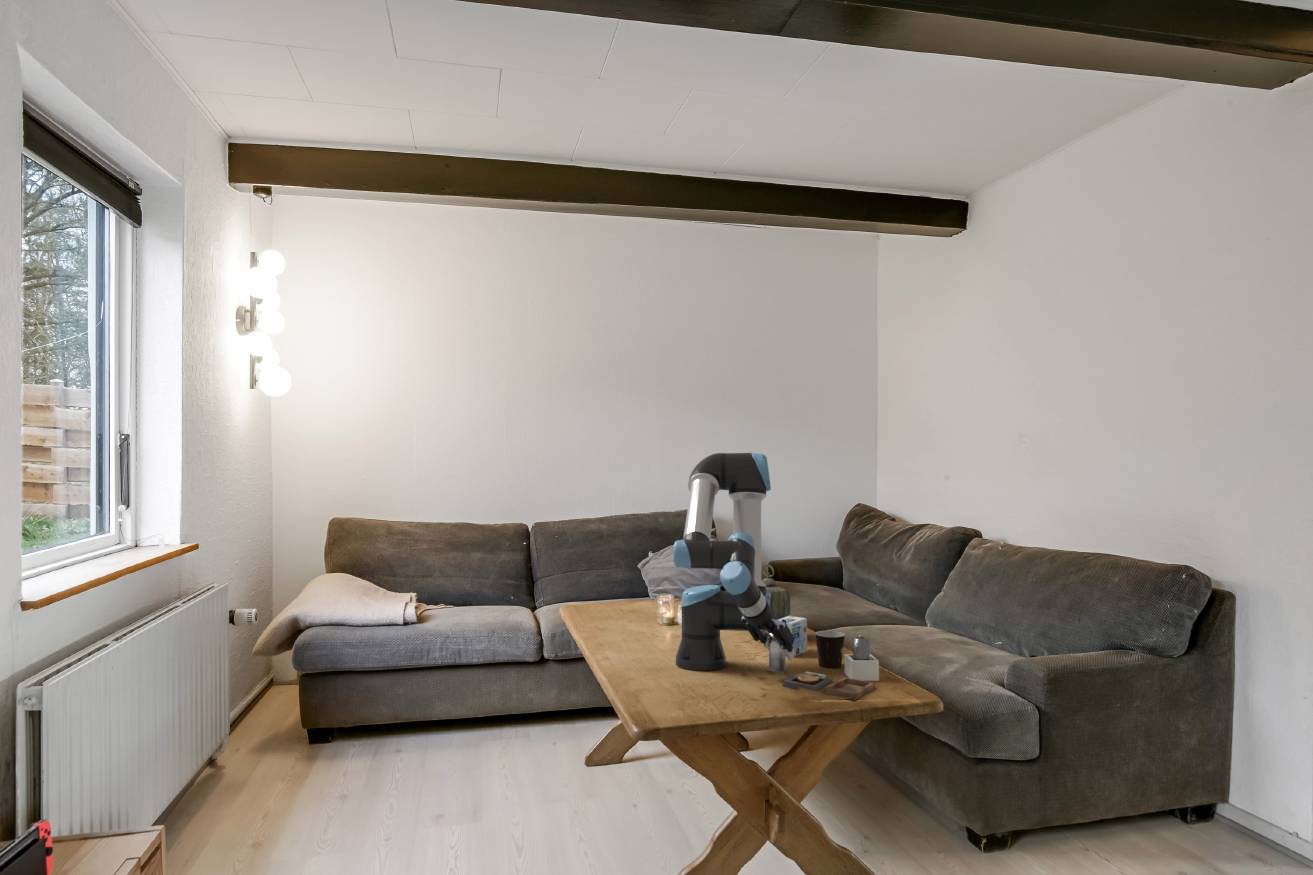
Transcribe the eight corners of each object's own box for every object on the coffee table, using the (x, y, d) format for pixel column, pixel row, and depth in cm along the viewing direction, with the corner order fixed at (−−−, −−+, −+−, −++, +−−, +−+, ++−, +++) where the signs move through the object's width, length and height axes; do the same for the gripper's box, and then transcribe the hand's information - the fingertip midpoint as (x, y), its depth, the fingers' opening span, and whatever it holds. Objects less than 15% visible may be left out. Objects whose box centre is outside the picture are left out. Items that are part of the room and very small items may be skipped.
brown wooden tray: (854, 701, 204) (854, 694, 204) (822, 694, 209) (822, 688, 209) (875, 689, 214) (875, 683, 214) (843, 683, 220) (843, 677, 220)
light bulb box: (792, 657, 248) (792, 623, 248) (773, 654, 252) (773, 620, 252) (807, 651, 256) (807, 617, 256) (789, 648, 260) (789, 615, 260)
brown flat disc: (812, 685, 214) (812, 679, 214) (792, 681, 218) (792, 675, 218) (822, 680, 219) (822, 674, 219) (803, 676, 223) (803, 671, 223)
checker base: (816, 692, 211) (816, 684, 211) (782, 685, 218) (782, 677, 218) (832, 684, 219) (832, 676, 219) (800, 677, 225) (800, 669, 225)
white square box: (851, 682, 220) (851, 661, 221) (844, 675, 228) (844, 654, 228) (879, 682, 221) (878, 660, 221) (870, 674, 228) (870, 653, 228)
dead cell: (855, 679, 222) (855, 637, 222) (851, 674, 227) (851, 633, 227) (871, 678, 222) (871, 637, 222) (867, 674, 227) (867, 633, 227)
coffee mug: (825, 662, 242) (825, 629, 243) (850, 667, 236) (850, 633, 236) (803, 669, 234) (803, 635, 234) (828, 675, 228) (828, 640, 228)
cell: (770, 671, 221) (770, 629, 221) (767, 666, 225) (767, 625, 225) (787, 671, 221) (786, 629, 221) (783, 666, 226) (783, 625, 226)
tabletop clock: (747, 633, 280) (747, 562, 281) (768, 631, 284) (768, 561, 285) (769, 642, 267) (769, 568, 268) (792, 640, 271) (792, 566, 272)
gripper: (720, 613, 217) (752, 660, 229) (777, 622, 206) (807, 671, 219) (731, 591, 221) (761, 638, 234) (787, 598, 210) (816, 648, 223)
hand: (783, 654), depth 226 cm, fingers closed on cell, 4 cm apart
